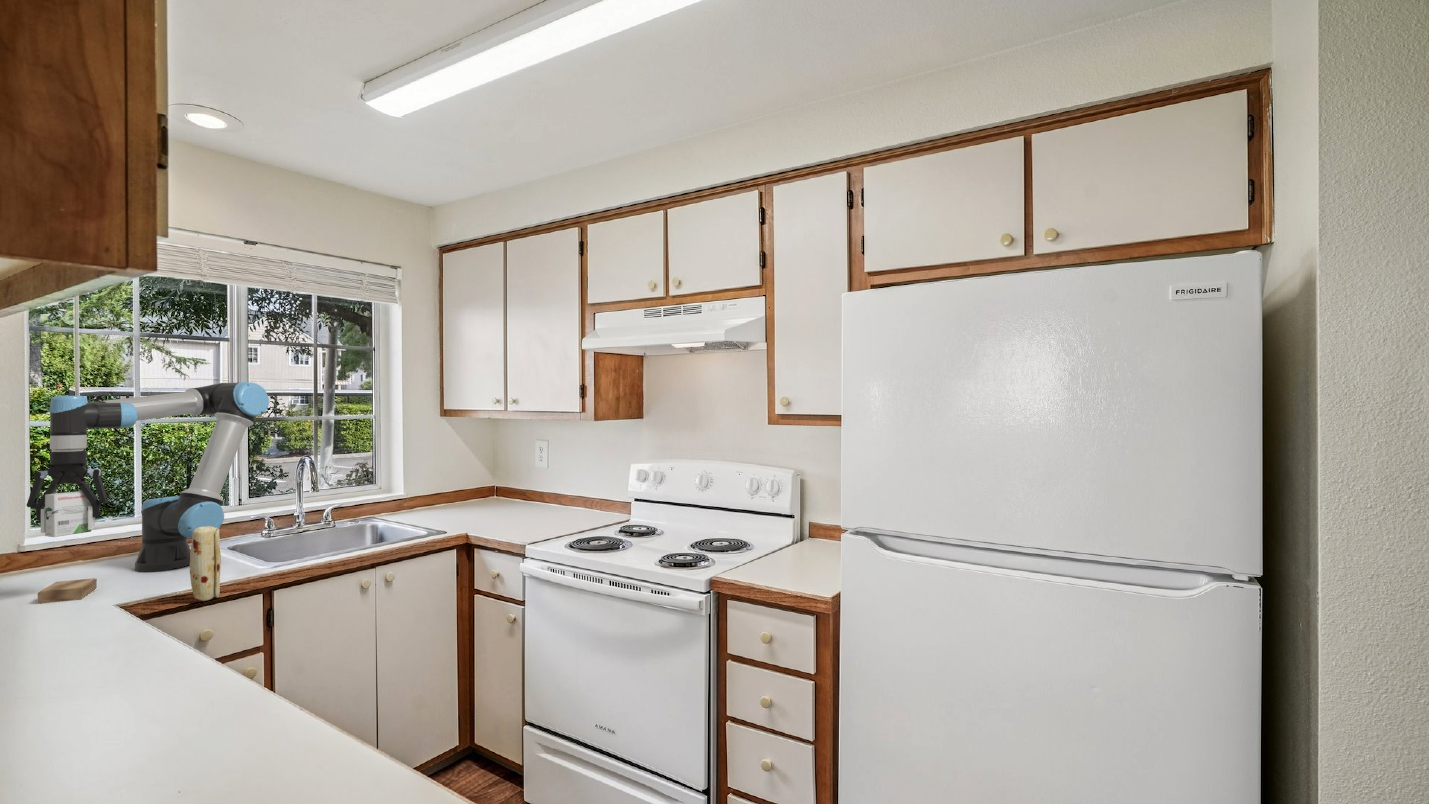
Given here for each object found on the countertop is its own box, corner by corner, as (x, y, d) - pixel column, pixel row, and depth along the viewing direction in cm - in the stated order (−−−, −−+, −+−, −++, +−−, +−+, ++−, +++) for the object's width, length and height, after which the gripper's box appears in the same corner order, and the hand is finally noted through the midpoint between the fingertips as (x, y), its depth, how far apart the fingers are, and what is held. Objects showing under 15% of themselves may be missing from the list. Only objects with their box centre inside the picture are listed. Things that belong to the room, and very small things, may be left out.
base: (96, 589, 198) (96, 577, 198) (81, 599, 187) (81, 587, 187) (55, 593, 194) (55, 581, 194) (37, 603, 183) (37, 591, 183)
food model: (195, 596, 189) (195, 524, 189) (224, 593, 192) (224, 522, 192) (185, 605, 180) (185, 530, 180) (216, 602, 183) (216, 528, 183)
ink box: (82, 531, 195) (82, 489, 195) (92, 532, 194) (92, 490, 194) (43, 536, 187) (43, 493, 187) (53, 537, 186) (53, 494, 186)
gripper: (123, 448, 199) (122, 525, 199) (21, 451, 189) (21, 531, 189) (114, 449, 192) (114, 529, 192) (9, 452, 182) (8, 536, 182)
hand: (68, 530), depth 190 cm, fingers closed on ink box, 9 cm apart
